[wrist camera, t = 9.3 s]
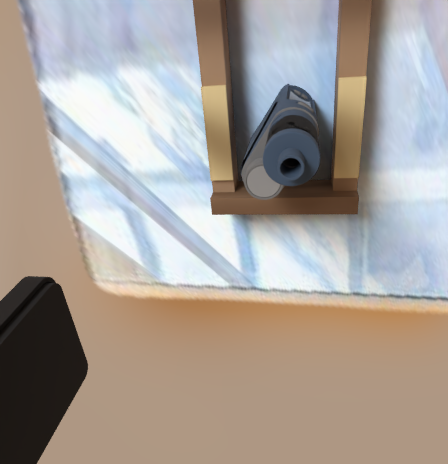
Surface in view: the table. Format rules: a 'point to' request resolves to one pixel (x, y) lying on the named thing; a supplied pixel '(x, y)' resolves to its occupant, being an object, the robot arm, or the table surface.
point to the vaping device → (283, 146)
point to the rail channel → (344, 127)
